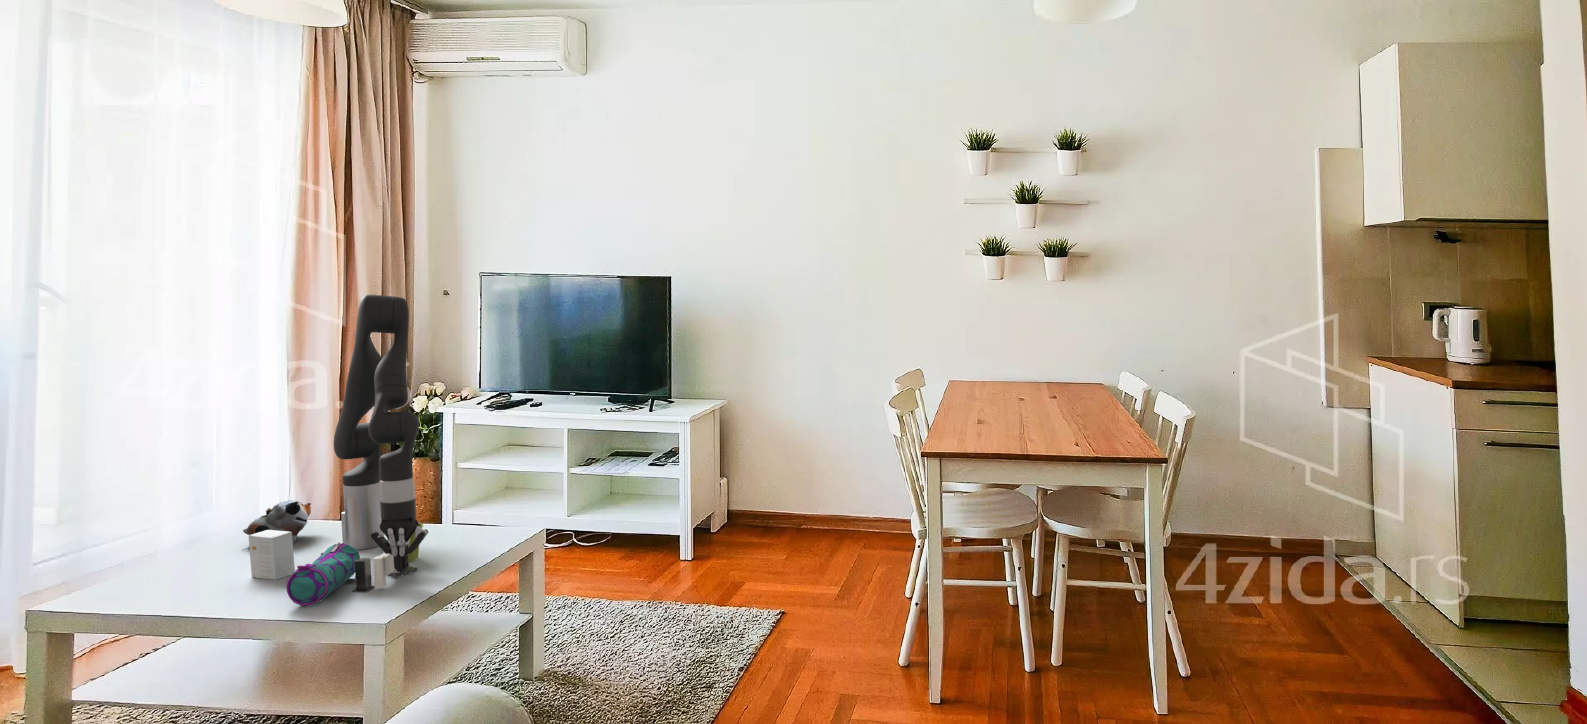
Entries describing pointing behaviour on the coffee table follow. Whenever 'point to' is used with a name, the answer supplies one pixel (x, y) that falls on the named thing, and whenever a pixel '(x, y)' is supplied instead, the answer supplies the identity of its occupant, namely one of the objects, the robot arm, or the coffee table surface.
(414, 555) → the plant pot
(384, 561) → the gate
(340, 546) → the pencil case
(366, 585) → the post
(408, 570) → the post
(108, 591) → the coffee table surface
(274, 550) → the small box
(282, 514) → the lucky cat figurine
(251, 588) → the coffee table surface
